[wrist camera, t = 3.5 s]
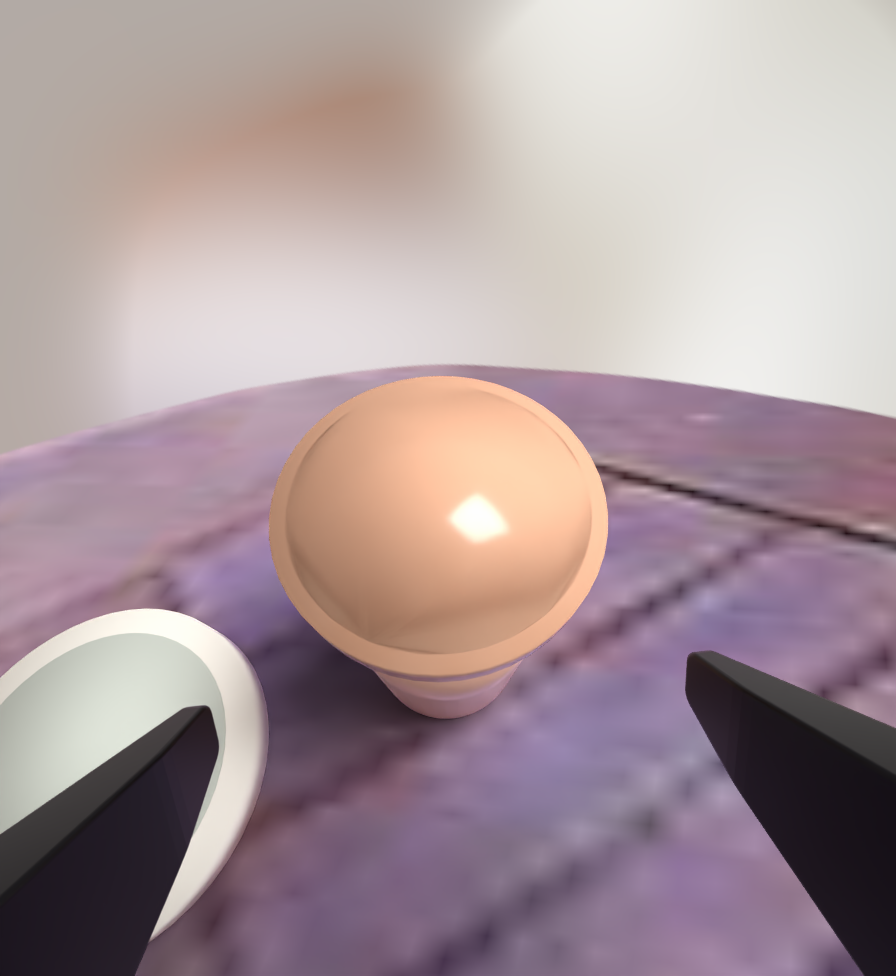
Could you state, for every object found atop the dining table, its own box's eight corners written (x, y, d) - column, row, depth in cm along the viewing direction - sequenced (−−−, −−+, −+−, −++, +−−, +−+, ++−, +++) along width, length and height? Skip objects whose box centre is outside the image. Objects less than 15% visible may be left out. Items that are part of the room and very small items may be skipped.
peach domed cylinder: (463, 767, 17) (479, 772, 7) (335, 656, 19) (196, 527, 9) (553, 623, 20) (664, 467, 9) (432, 540, 22) (414, 338, 11)
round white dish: (54, 1084, 13) (5, 1124, 11) (-104, 802, 16) (-156, 805, 15) (329, 733, 17) (318, 730, 16) (158, 570, 21) (137, 557, 20)
